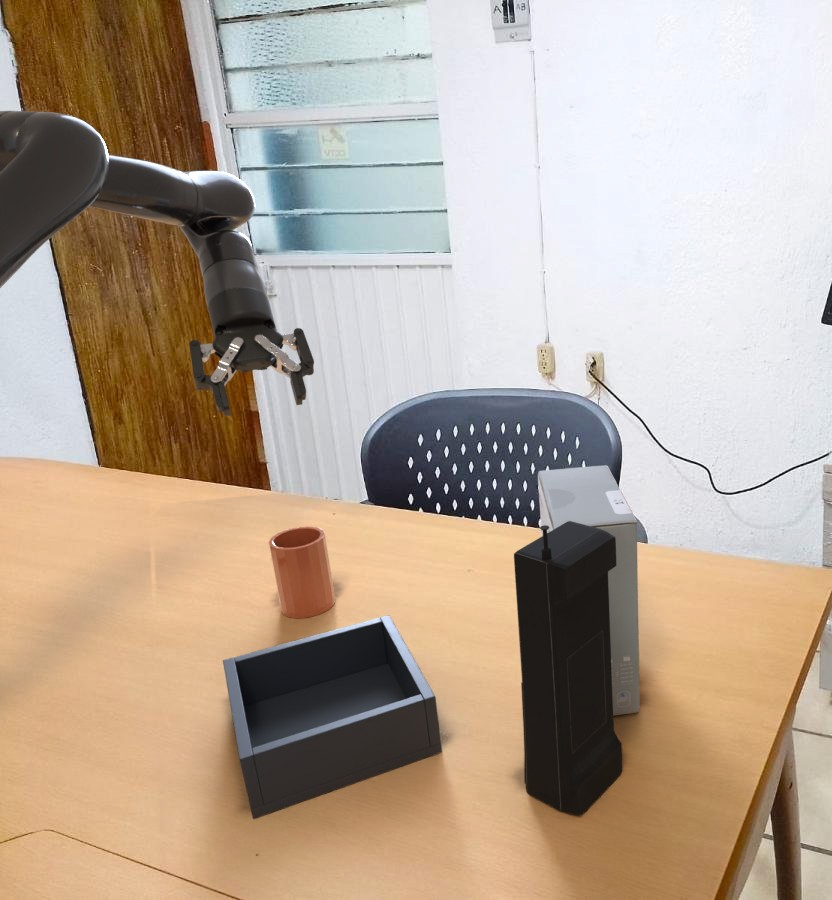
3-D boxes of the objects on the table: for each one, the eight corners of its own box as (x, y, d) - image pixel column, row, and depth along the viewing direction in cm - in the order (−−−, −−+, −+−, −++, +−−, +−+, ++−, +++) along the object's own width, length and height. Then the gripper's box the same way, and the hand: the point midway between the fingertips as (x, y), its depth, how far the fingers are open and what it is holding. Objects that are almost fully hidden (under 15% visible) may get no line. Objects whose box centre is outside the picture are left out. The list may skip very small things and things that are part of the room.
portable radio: (575, 739, 75) (562, 484, 67) (631, 764, 72) (623, 499, 64) (519, 791, 69) (496, 519, 61) (577, 821, 66) (561, 537, 58)
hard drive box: (642, 715, 78) (638, 522, 72) (562, 725, 77) (550, 531, 71) (613, 628, 93) (607, 462, 86) (545, 636, 92) (534, 468, 85)
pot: (285, 623, 96) (272, 554, 93) (278, 600, 102) (265, 534, 99) (339, 609, 99) (328, 541, 96) (329, 587, 104) (319, 522, 101)
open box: (252, 819, 67) (239, 759, 65) (234, 712, 81) (222, 659, 79) (442, 752, 74) (435, 696, 72) (396, 664, 88) (389, 614, 86)
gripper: (175, 291, 103) (199, 400, 97) (294, 280, 109) (323, 382, 103) (182, 326, 109) (205, 432, 103) (294, 314, 115) (322, 413, 110)
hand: (264, 407), depth 103 cm, fingers open, 8 cm apart
